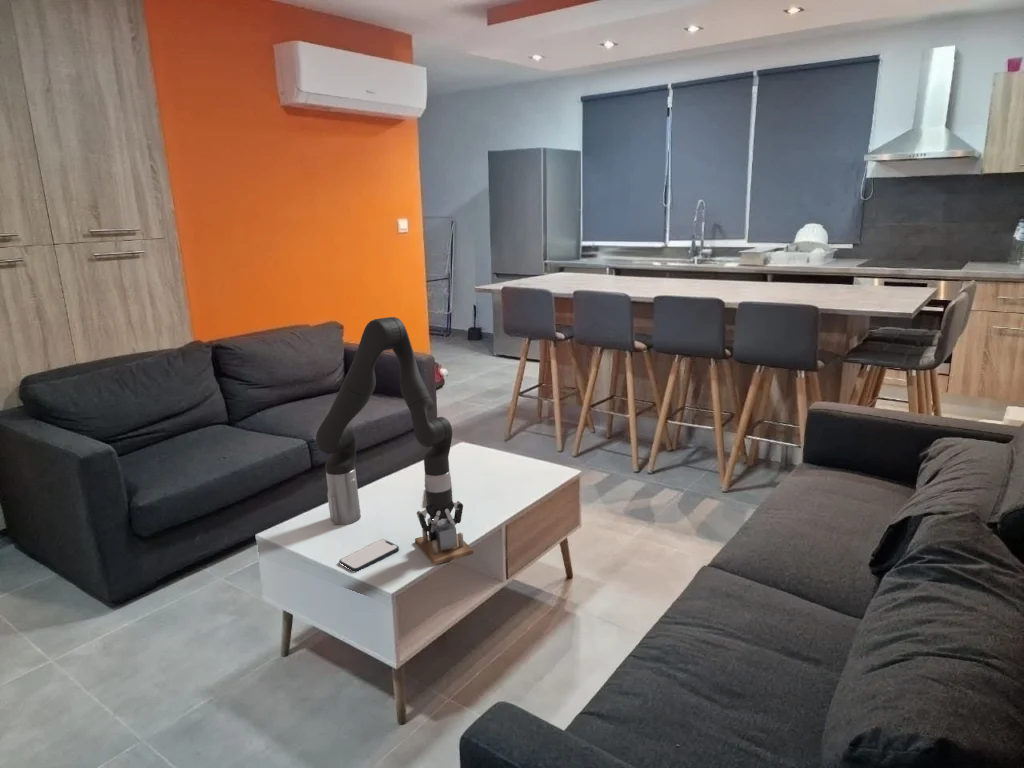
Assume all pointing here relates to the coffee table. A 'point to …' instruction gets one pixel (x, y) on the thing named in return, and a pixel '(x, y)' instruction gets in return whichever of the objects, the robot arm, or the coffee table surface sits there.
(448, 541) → the block
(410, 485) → the coffee table surface
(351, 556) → the smartphone
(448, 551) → the tray
